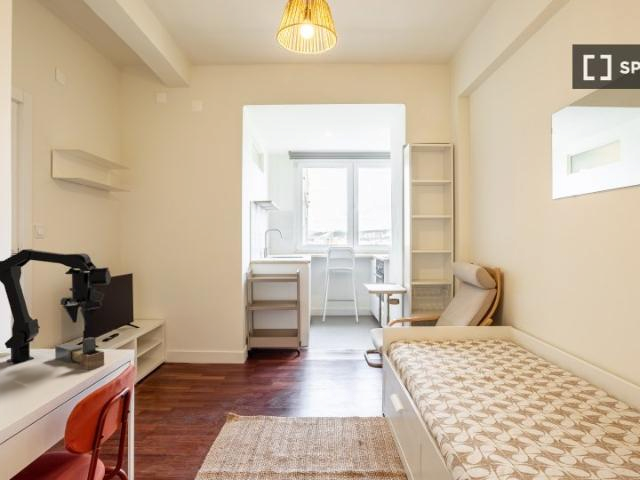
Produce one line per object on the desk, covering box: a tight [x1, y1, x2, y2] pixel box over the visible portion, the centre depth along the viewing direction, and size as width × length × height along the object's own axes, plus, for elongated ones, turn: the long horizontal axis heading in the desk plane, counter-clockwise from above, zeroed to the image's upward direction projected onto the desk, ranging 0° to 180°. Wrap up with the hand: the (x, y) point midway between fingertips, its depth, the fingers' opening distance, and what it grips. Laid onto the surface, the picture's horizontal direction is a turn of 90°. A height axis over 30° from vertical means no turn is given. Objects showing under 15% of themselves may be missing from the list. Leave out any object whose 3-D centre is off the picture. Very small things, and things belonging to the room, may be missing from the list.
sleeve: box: [54, 342, 83, 364], centre depth 143 cm, size 10×5×5 cm, turn 61°
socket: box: [79, 349, 105, 371], centre depth 135 cm, size 6×5×5 cm
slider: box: [71, 336, 97, 363], centre depth 138 cm, size 15×3×9 cm, turn 61°
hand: (81, 323), depth 146 cm, fingers open, 9 cm apart
